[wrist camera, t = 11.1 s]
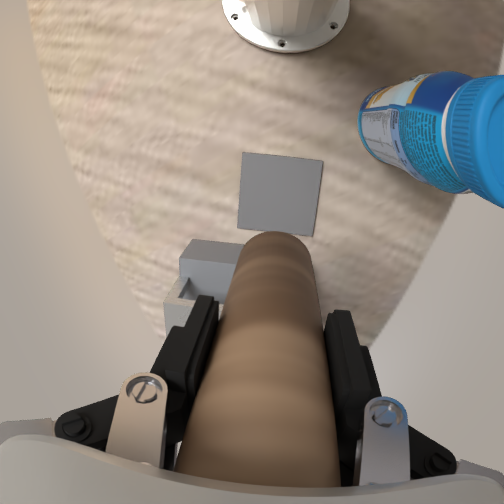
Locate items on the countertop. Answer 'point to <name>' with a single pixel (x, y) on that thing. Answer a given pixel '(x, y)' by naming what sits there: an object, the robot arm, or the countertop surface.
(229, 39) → the countertop surface
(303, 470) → the brown rod
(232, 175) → the countertop surface
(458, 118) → the beverage bottle
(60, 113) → the countertop surface
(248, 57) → the countertop surface
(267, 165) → the pad
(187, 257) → the box
